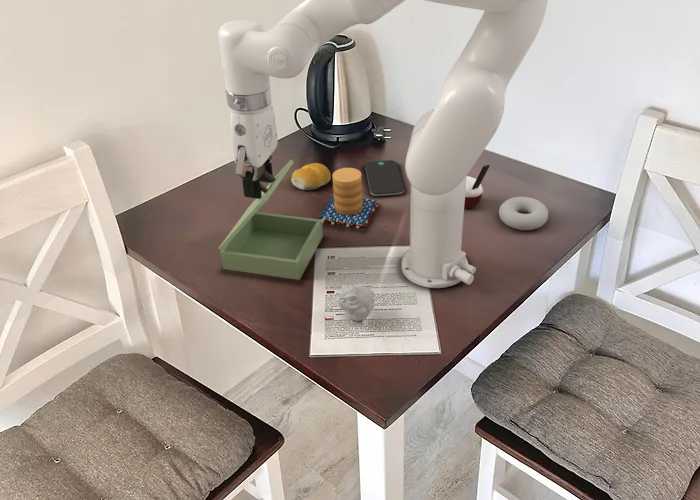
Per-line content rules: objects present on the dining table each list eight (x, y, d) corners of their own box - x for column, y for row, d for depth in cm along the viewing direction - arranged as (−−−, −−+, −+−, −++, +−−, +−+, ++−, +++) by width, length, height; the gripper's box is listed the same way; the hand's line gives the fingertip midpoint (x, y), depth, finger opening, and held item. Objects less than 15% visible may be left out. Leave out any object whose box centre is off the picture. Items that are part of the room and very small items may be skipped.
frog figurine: (331, 313, 116) (328, 282, 112) (366, 301, 119) (365, 270, 114) (345, 334, 112) (343, 303, 108) (382, 321, 114) (381, 290, 110)
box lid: (294, 161, 126) (273, 143, 125) (266, 201, 114) (242, 182, 113) (251, 210, 136) (230, 194, 135) (221, 251, 124) (199, 234, 123)
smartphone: (396, 159, 159) (405, 191, 147) (395, 162, 159) (405, 194, 147) (364, 161, 159) (371, 194, 146) (364, 165, 159) (371, 197, 147)
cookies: (365, 201, 142) (364, 169, 137) (358, 216, 137) (357, 183, 133) (339, 198, 144) (337, 166, 139) (331, 213, 139) (328, 180, 134)
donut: (531, 239, 132) (556, 217, 138) (533, 225, 130) (558, 203, 135) (488, 222, 138) (514, 201, 143) (490, 208, 136) (516, 188, 141)
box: (323, 239, 135) (321, 219, 132) (300, 283, 124) (297, 262, 121) (252, 230, 139) (249, 211, 136) (223, 272, 127) (220, 252, 125)
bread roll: (337, 179, 154) (336, 164, 152) (310, 195, 149) (308, 179, 147) (313, 168, 159) (311, 153, 157) (285, 183, 154) (283, 168, 152)
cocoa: (448, 195, 147) (451, 146, 140) (476, 192, 147) (480, 144, 140) (458, 218, 139) (461, 168, 132) (487, 215, 139) (492, 165, 132)
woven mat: (366, 232, 136) (365, 224, 135) (318, 225, 139) (317, 217, 138) (380, 206, 144) (380, 198, 143) (334, 200, 147) (334, 192, 146)
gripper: (249, 120, 104) (260, 216, 115) (286, 80, 118) (293, 169, 128) (206, 115, 106) (221, 210, 117) (247, 76, 119) (257, 164, 130)
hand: (259, 188), depth 122 cm, fingers closed on box lid, 5 cm apart
